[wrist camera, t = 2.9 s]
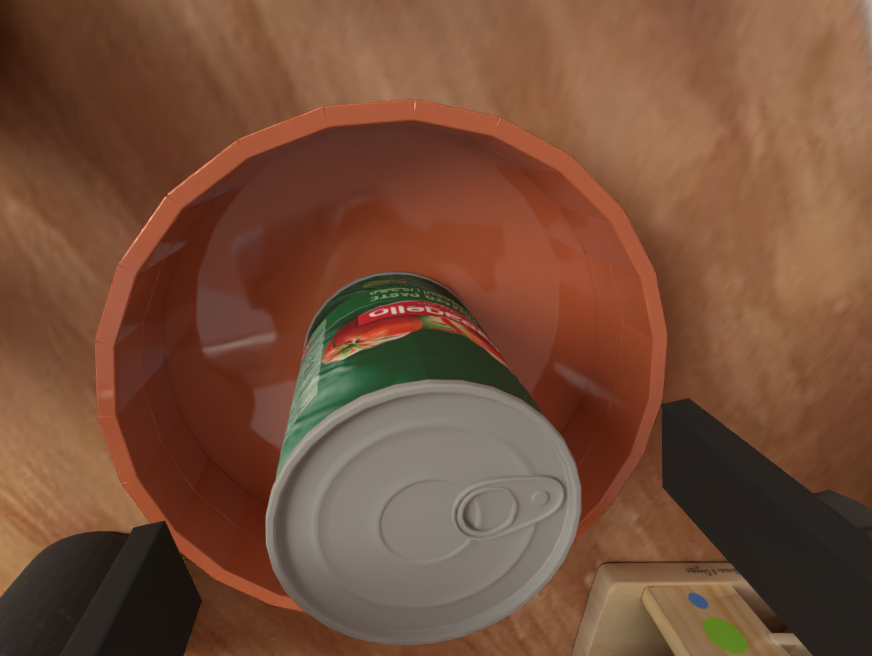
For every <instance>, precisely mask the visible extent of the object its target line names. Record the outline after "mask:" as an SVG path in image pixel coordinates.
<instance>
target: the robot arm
mask: <svg viewBox="0 0 872 656" xmlns="http://www.w3.org/2000/svg"><path fill="white" fill-rule="evenodd" d="M662 479H663V488H664V489H665V490H666V492H667V493H668V494H669V495H670V496H671V497H672V498H673V499H674V500H675V502H676V503H677V504H678V505H679V506H680V507H681V508H682V509H683V511H684V512H685V513H686V514H687V515H688V516H689V517H690V518H691V520H692V521H693V522H694V523H695V524H696V525H697V526H698V527H699V529H700V530H701V531H702V532H703V533H704V534H705V535H706V536H707V537H708V539H709V540H710V541H711V542H712V543H713V544H714V545H715V546H716V548H717V549H718V550H719V551H720V552H721V553H722V554H723V555H724V557H725V558H726V559H727V560H728V561H729V562H730V563H731V564H732V566H733V567H734V568H735V569H736V570H737V571H738V572H739V573H740V574H741V576H742V577H743V578H744V579H745V580H746V581H747V582H748V583H749V585H750V586H751V587H752V588H753V589H754V590H755V591H756V592H757V594H758V595H759V596H760V597H761V598H762V599H763V600H764V601H765V603H766V604H767V605H768V606H769V607H770V608H771V609H772V610H773V612H774V613H775V614H776V615H777V616H778V617H779V618H780V619H781V620H782V622H783V623H784V624H785V625H786V626H787V627H788V628H789V629H790V631H791V632H792V633H793V634H794V635H795V636H796V637H797V638H798V640H799V641H800V642H801V643H802V644H803V645H804V646H805V647H806V649H807V650H808V651H809V652H810V653H811V654H812V655H813V656H872V511H871V510H869V509H868V508H866V507H865V506H864V505H862V504H861V503H859V502H856V501H854V500H852V499H850V498H847V497H845V496H843V495H840V494H838V493H836V492H834V491H831V490H826V491H823V492H819V493H815V494H813V493H812V492H810V491H809V490H808V489H806V488H805V487H804V486H803V485H801V484H800V483H799V482H797V481H796V480H795V479H793V478H792V477H791V476H789V475H788V474H787V473H786V472H784V471H783V470H782V469H780V468H779V467H778V466H776V465H775V464H774V463H773V462H771V461H770V460H769V459H767V458H766V457H765V456H763V455H762V454H761V453H759V452H758V451H757V450H756V449H754V448H753V447H752V446H750V445H749V444H748V443H746V442H745V441H744V440H743V439H741V438H740V437H739V436H737V435H736V434H735V433H733V432H732V431H731V430H729V429H728V428H727V427H726V426H724V425H723V424H722V423H720V422H719V421H718V420H716V419H715V418H714V417H713V416H711V415H710V414H709V413H707V412H706V411H705V410H703V409H702V408H701V407H699V406H698V405H697V404H696V403H694V402H693V401H692V400H690V399H689V398H687V399H683V400H678V401H674V402H670V403H666V404H662ZM201 602H202V600H201V598H200V596H199V593H198V591H197V589H196V587H195V585H194V583H193V580H192V578H191V576H190V574H189V572H188V569H187V567H186V565H185V563H184V561H183V559H182V556H181V554H180V552H179V550H178V548H177V545H176V543H175V541H174V539H173V537H172V535H171V532H170V530H169V528H168V526H167V524H166V521H165V520H164V521H160V522H156V523H152V524H147V525H143V526H139V527H134V528H133V529H132V531H131V533H130V535H129V536H128V538H127V540H126V542H125V543H124V545H123V547H122V549H121V550H120V552H119V554H118V555H117V557H116V559H115V561H114V562H113V564H112V566H111V568H110V569H109V571H108V573H107V574H106V576H105V578H104V580H103V581H102V583H101V585H100V587H99V588H98V590H97V592H96V593H95V595H94V597H93V599H92V600H91V602H90V604H89V606H88V607H87V609H86V611H85V612H84V614H83V616H82V618H81V619H80V621H79V623H78V625H77V626H76V628H75V630H74V632H73V633H72V635H71V637H70V638H69V640H68V642H67V644H66V645H65V647H64V649H63V651H62V652H61V654H60V656H184V653H185V650H186V647H187V644H188V641H189V638H190V635H191V632H192V629H193V626H194V623H195V620H196V617H197V614H198V611H199V608H200V605H201Z"/></svg>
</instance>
